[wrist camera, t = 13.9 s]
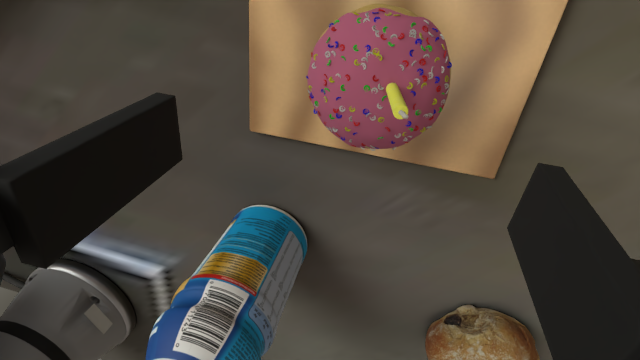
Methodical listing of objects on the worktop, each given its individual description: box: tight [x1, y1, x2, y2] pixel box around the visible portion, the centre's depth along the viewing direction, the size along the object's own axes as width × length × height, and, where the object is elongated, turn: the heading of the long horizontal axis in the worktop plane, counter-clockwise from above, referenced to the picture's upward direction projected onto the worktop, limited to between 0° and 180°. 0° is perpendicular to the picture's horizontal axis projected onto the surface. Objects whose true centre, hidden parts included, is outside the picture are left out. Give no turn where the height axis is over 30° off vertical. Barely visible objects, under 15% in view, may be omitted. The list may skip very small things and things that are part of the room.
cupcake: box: [306, 3, 452, 151], centre depth 20 cm, size 9×8×12 cm
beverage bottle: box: [146, 205, 307, 360], centre depth 28 cm, size 8×8×20 cm
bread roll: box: [425, 305, 540, 360], centre depth 35 cm, size 10×10×8 cm
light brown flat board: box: [249, 0, 568, 179], centre depth 26 cm, size 20×14×1 cm
